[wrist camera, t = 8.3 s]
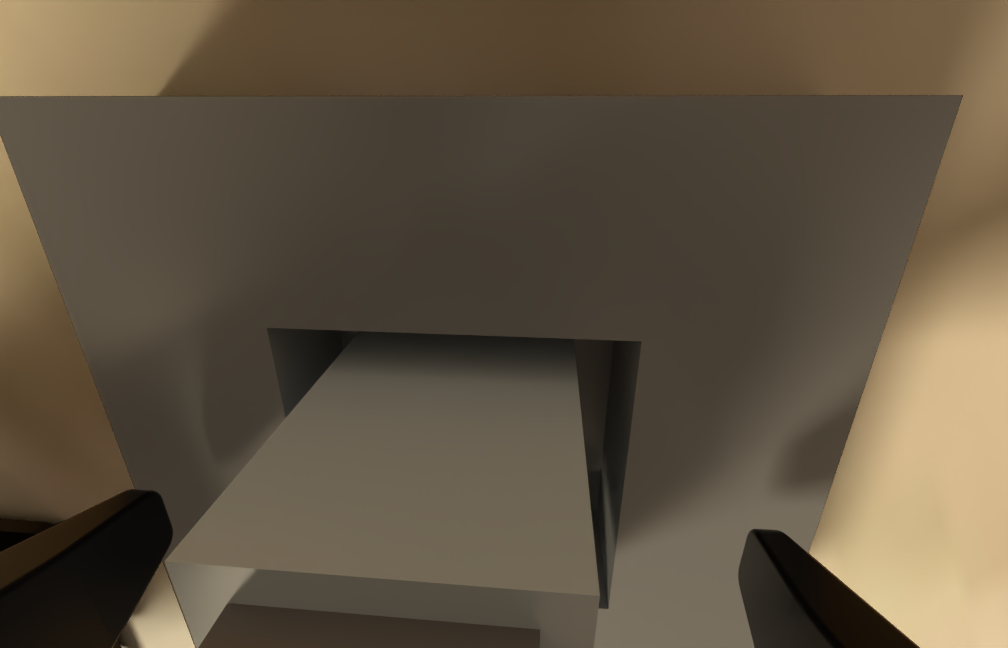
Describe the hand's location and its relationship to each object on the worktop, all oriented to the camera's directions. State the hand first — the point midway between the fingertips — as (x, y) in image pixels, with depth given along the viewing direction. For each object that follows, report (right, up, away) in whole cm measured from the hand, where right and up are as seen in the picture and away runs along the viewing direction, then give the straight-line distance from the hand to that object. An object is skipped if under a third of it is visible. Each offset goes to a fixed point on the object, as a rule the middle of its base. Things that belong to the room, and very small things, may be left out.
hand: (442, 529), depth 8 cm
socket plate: (0, +2, +4) cm, 4 cm away
